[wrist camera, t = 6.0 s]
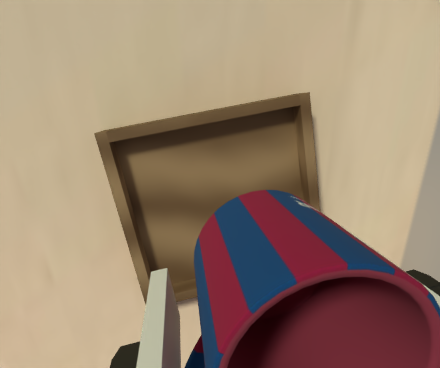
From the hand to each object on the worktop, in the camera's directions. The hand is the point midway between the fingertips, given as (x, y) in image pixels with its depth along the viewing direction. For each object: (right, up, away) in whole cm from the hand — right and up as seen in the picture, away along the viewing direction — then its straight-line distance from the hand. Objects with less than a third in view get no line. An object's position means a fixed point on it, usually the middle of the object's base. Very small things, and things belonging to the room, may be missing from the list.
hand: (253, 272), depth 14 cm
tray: (-2, +3, +11) cm, 12 cm away
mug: (-1, 0, 0) cm, 1 cm away
